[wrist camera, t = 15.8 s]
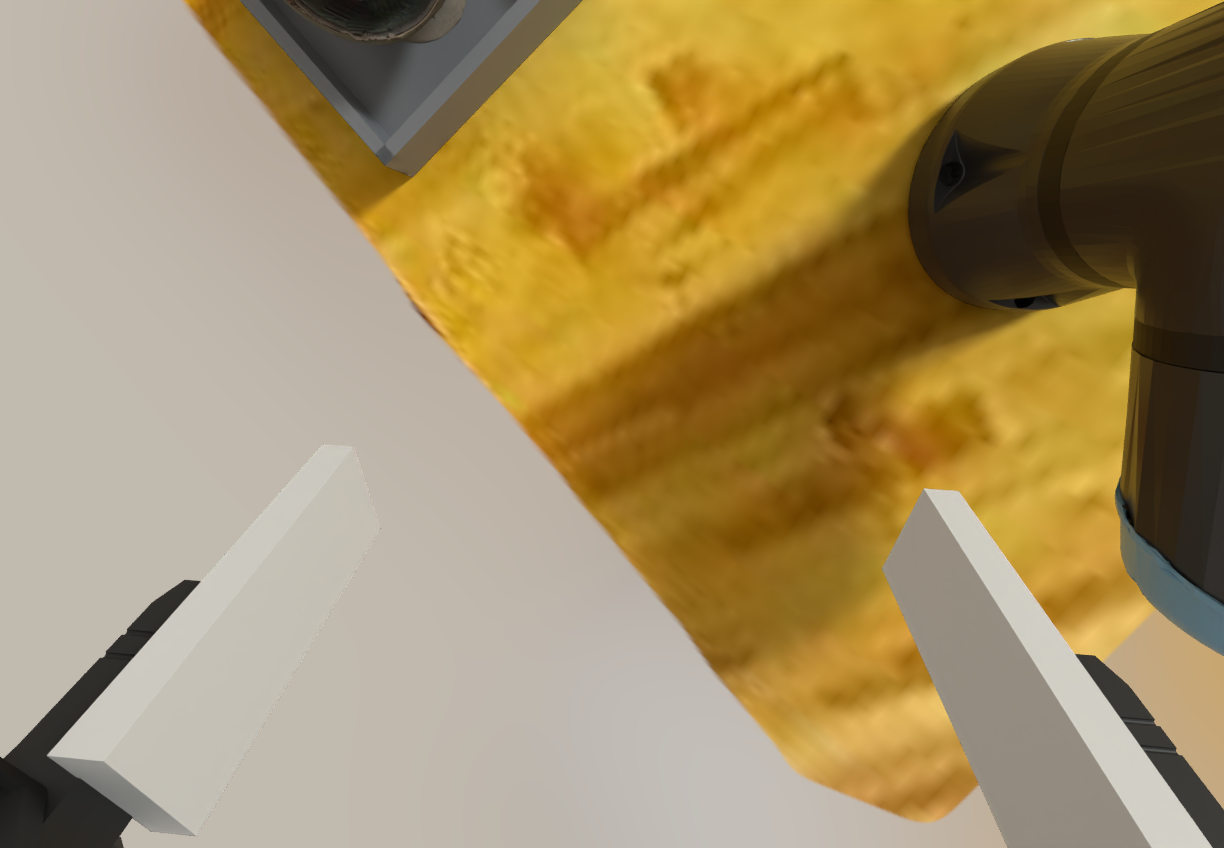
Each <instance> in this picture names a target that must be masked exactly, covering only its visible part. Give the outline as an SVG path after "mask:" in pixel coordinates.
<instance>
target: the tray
mask: <svg viewBox="0 0 1224 848" xmlns="http://www.w3.org/2000/svg"><path fill="white" fill-rule="evenodd" d="M240 1H241V2H242V3H243V4H244V6H245V7H246V8H247V9H248V10H249V11H250V12H251V14H252V15H253V16H254V17H255V18H256V19H257V20H258V22H259V23H260V24H261V25H262V26H263V27H264V28H265V30H266V31H267V32H268V33H269V34H270V35H271V36H272V38H273V39H274V40H275V41H276V42H277V43H278V44H279V45H280V47H281V48H282V49H283V50H284V51H285V52H286V53H287V55H288V56H289V57H290V58H291V59H292V60H293V61H294V63H295V64H296V65H297V66H298V67H299V68H300V69H301V71H302V72H303V73H304V74H305V75H306V76H307V77H308V78H309V80H310V81H311V82H312V83H313V84H314V85H315V86H316V88H317V89H318V90H319V91H320V92H321V93H322V94H323V96H324V97H325V98H326V99H327V100H328V101H329V102H330V104H331V105H332V106H333V107H334V108H335V109H336V110H337V112H338V113H339V114H340V115H341V116H342V117H343V118H344V119H345V121H346V122H347V123H348V124H349V125H350V126H351V127H352V129H353V130H354V131H355V132H356V133H357V134H358V135H359V137H360V138H361V139H362V140H363V141H364V142H365V143H366V145H367V146H368V147H369V148H370V149H371V150H372V151H373V152H374V154H375V155H376V156H377V157H378V158H379V159H380V160H381V162H382V163H383V164H384V165H385V166H387V167H389V168H391V169H394V170H396V171H399V172H401V173H403V174H406V175H408V176H410V177H413V176H414V175H415V174H416V173H417V172H418V171H419V170H420V169H421V168H422V167H423V166H424V165H425V164H426V163H427V162H428V161H429V160H430V159H431V158H432V156H433V155H434V154H435V153H436V152H437V151H438V150H439V149H440V148H441V147H442V146H443V145H444V144H445V143H446V142H447V141H448V140H449V139H450V138H451V137H452V136H453V135H454V134H455V133H456V131H457V130H458V129H459V128H460V127H461V126H462V125H463V124H464V123H465V122H466V121H467V120H468V119H469V118H470V117H471V116H472V115H473V114H474V113H475V112H476V111H477V110H478V109H479V107H480V106H481V105H482V104H483V103H484V102H485V101H486V100H487V99H488V98H489V97H490V96H491V95H492V94H493V93H494V92H495V91H496V90H497V89H498V88H499V87H500V86H501V85H502V84H503V82H504V81H505V80H506V79H507V78H508V77H509V76H510V75H511V74H512V73H513V72H514V71H515V70H516V69H517V68H518V67H519V66H520V65H521V64H522V63H523V62H524V61H525V60H526V58H527V57H528V56H529V55H530V54H531V53H532V52H533V51H534V50H535V49H536V48H537V47H538V46H539V45H540V44H541V43H542V42H543V41H544V40H545V39H546V38H547V37H548V36H549V35H550V33H551V32H552V31H553V30H554V29H555V28H556V27H557V26H558V25H559V24H560V23H561V22H562V21H563V20H564V19H565V18H566V17H567V16H568V15H569V14H570V13H571V12H572V11H573V9H574V8H575V7H576V6H577V5H578V4H579V3H580V2H581V1H582V0H466V4H465V8H464V11H463V15H462V17H461V19H460V21H459V22H458V23H457V25H456V26H455V27H454V28H453V29H452V30H451V31H449V32H448V33H447V34H446V35H444V36H443V37H441V38H440V39H438V40H435V41H431V42H426V43H413V42H405V41H400V42H396V43H392V44H386V45H372V44H361V43H356V42H352V41H348V40H345V39H342V38H339V37H337V36H334V35H332V34H330V33H328V32H326V31H324V30H323V29H321V28H319V27H317V26H316V25H314V24H312V23H311V22H309V21H308V20H306V19H305V18H303V17H302V16H300V15H299V14H298V13H297V12H295V11H294V10H293V9H292V8H291V7H289V6H288V5H287V4H286V3H285V2H284V1H283V0H240Z"/></svg>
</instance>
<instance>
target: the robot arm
mask: <svg viewBox="0 0 1224 848" xmlns="http://www.w3.org/2000/svg"><path fill="white" fill-rule="evenodd" d="M909 226H910V232H911V237H912V241H913V245H914V248H915V251H916V253H917V256H918V258H919V260H920V262H921V264H922V265H923V267H924V269H925V270H926V272H927V273H928V275H929V276H930V277H931V278H932V279H933V281H934V282H935V283H936V284H937V285H938V286H939V287H941V288H942V289H943V290H944V291H946V292H947V293H948V294H950V295H951V296H953V297H955V298H957V299H958V300H961V301H963V302H965V303H968V304H971V305H974V306H978V307H982V308H988V309H996V310H1005V311H1016V312H1028V311H1040V310H1048V309H1053V308H1057V307H1061V306H1065V305H1068V304H1072V303H1075V302H1078V301H1082V300H1085V299H1089V298H1092V297H1095V296H1099V295H1102V294H1106V293H1109V292H1112V291H1116V290H1119V289H1123V288H1137V289H1136V303H1135V320H1134V334H1133V342H1132V350H1131V364H1130V379H1129V393H1128V407H1127V419H1126V429H1125V440H1124V450H1123V461H1122V471H1121V477H1120V479H1119V482H1118V486H1117V488H1116V491H1115V504H1116V508H1117V512H1118V515H1119V517H1120V548H1121V555H1122V559H1123V563H1124V566H1125V568H1126V570H1127V573H1128V574H1129V576H1130V577H1131V578H1132V579H1133V580H1134V581H1135V582H1136V583H1137V585H1138V586H1139V588H1140V590H1141V592H1142V594H1143V595H1144V596H1145V597H1146V599H1147V600H1148V601H1149V602H1150V603H1151V604H1152V605H1153V606H1154V607H1155V608H1156V609H1157V610H1158V611H1159V612H1161V613H1162V614H1163V615H1164V616H1165V617H1166V618H1167V619H1168V620H1170V621H1171V622H1172V623H1173V624H1175V625H1176V626H1177V627H1179V628H1180V629H1181V630H1183V631H1184V632H1186V633H1187V634H1188V635H1190V636H1191V637H1193V638H1194V639H1196V640H1198V641H1199V642H1200V643H1202V644H1204V645H1205V646H1207V647H1209V648H1210V649H1212V650H1214V651H1215V652H1217V653H1219V654H1221V655H1223V656H1224V2H1222V3H1220V4H1217V5H1215V6H1213V7H1211V8H1208V9H1206V10H1204V11H1202V12H1199V13H1197V14H1195V15H1193V16H1190V17H1188V18H1186V19H1184V20H1181V21H1179V22H1177V23H1175V24H1172V25H1171V26H1168V27H1166V28H1164V29H1161V30H1159V31H1157V32H1154V33H1152V34H1138V35H1125V36H1113V37H1103V38H1083V39H1074V40H1068V41H1064V42H1060V43H1056V44H1052V45H1049V46H1046V47H1043V48H1040V49H1038V50H1035V51H1033V52H1030V53H1028V54H1026V55H1024V56H1022V57H1020V58H1018V59H1016V60H1014V61H1012V62H1010V63H1009V64H1007V65H1005V66H1003V67H1001V68H999V69H997V70H995V71H994V72H992V73H990V74H989V75H987V76H986V77H984V78H983V79H981V80H980V81H978V82H977V83H976V84H974V85H973V86H972V87H971V88H969V89H968V90H967V91H966V92H965V93H964V94H963V95H962V96H961V97H960V98H959V99H958V100H957V101H956V102H955V103H954V104H953V105H952V106H951V107H950V108H949V109H948V110H947V112H946V113H945V114H944V116H943V117H942V118H941V119H940V121H939V122H938V124H937V125H936V127H935V128H934V130H933V131H932V133H931V135H930V136H929V138H928V140H927V142H926V144H925V146H924V148H923V150H922V152H921V155H920V157H919V160H918V163H917V165H916V168H915V172H914V175H913V179H912V184H911V189H910V196H909ZM380 529H381V528H380V525H379V521H378V518H377V516H376V512H375V509H374V506H373V503H372V500H371V497H370V494H369V491H368V488H367V484H366V481H365V478H364V475H363V472H362V469H361V466H360V463H359V460H358V457H357V454H356V451H355V447H351V446H337V445H324V444H323V445H322V446H321V447H320V448H319V449H318V450H317V451H316V452H315V453H314V455H313V456H312V457H311V458H310V459H309V460H308V461H307V463H306V464H305V465H304V466H303V467H302V468H301V469H300V470H299V472H298V473H297V474H296V475H295V476H294V477H293V478H292V480H291V481H290V482H289V483H288V484H287V485H286V486H285V487H284V489H283V490H282V491H281V492H280V493H279V494H278V495H277V496H276V497H275V499H274V500H273V501H272V502H271V503H270V504H269V505H268V507H267V508H266V509H265V510H264V511H263V512H262V513H261V515H260V516H259V517H258V518H257V519H256V520H255V521H254V523H252V525H251V526H250V527H249V528H248V529H247V530H246V531H245V533H244V534H243V535H242V536H241V537H240V538H239V539H238V541H236V543H235V544H234V545H233V546H232V547H231V548H230V549H229V551H228V552H227V553H226V554H225V555H224V556H223V557H222V558H221V560H220V561H219V562H218V563H217V564H216V565H215V566H214V567H213V569H212V570H211V571H210V572H209V573H208V574H207V575H206V576H205V578H204V579H203V580H202V581H191V580H184V581H182V582H181V583H180V584H178V585H177V586H175V587H174V588H172V589H171V590H169V591H168V592H167V593H165V594H164V595H162V596H161V597H159V598H158V599H156V600H155V601H154V602H152V603H151V604H150V605H149V606H148V608H147V609H146V610H145V611H144V612H143V613H142V614H141V615H140V616H139V617H138V618H137V619H136V620H135V621H134V622H133V623H132V625H131V626H130V627H129V628H128V629H127V633H126V634H125V635H121V636H120V637H119V638H118V640H116V641H115V643H114V644H113V645H112V646H111V647H110V648H109V649H108V650H107V651H106V655H105V657H103V658H99V660H98V661H97V662H96V663H95V664H94V665H93V666H92V667H91V668H90V669H89V670H88V671H87V673H85V674H84V675H83V677H82V678H81V679H80V680H79V681H78V682H77V683H76V684H75V685H74V686H73V687H72V688H71V689H70V690H69V691H68V692H67V693H66V695H65V696H64V697H63V698H62V699H61V700H60V701H59V702H58V703H57V704H56V705H55V706H54V707H53V708H52V709H51V710H50V711H49V713H48V714H47V715H46V716H45V717H44V718H43V719H42V720H41V721H40V722H39V723H38V724H37V725H36V727H34V729H33V730H32V731H31V732H30V733H29V734H28V735H27V736H26V737H25V738H24V739H23V740H22V741H21V742H20V743H19V744H18V745H17V747H15V748H14V749H13V750H12V751H11V752H10V753H9V754H8V755H7V756H6V757H5V758H4V759H3V758H1V757H0V848H123V844H122V840H121V837H119V836H120V835H121V833H122V832H123V830H124V829H125V827H126V826H127V825H128V823H129V822H130V820H131V819H132V818H133V819H134V820H136V821H137V822H138V823H140V824H141V825H143V826H144V827H145V828H147V829H148V830H149V831H151V832H160V833H170V834H179V835H189V836H197V835H198V834H199V832H200V830H201V829H202V827H203V825H204V823H205V822H206V820H207V818H208V817H209V815H210V813H211V812H212V810H213V808H214V807H215V805H216V803H217V802H218V800H219V798H220V797H221V795H222V793H223V791H224V790H225V788H226V787H227V785H228V783H229V782H230V780H231V778H232V777H233V775H234V773H235V772H236V770H237V768H238V767H239V765H240V763H241V762H242V760H243V758H244V757H245V755H246V753H247V751H248V750H249V748H250V747H251V745H252V743H253V741H254V740H255V738H256V737H257V735H258V733H259V732H260V730H261V728H262V726H263V725H264V723H265V721H266V720H267V718H268V716H269V715H270V713H271V711H272V710H273V708H274V706H275V705H276V703H277V701H278V700H279V698H280V696H281V695H282V693H283V691H284V690H285V688H286V686H287V685H288V683H289V681H290V680H291V677H292V676H293V675H294V673H295V671H296V670H297V668H298V666H299V665H300V663H301V661H302V660H303V658H304V656H305V654H306V653H307V651H308V649H309V648H310V646H311V645H312V643H313V641H314V640H315V638H316V636H317V635H318V633H319V631H320V629H321V628H322V626H323V624H324V623H325V621H326V619H327V618H328V616H329V614H330V613H331V611H332V609H333V608H334V606H335V604H336V603H337V601H338V599H339V598H340V596H341V594H342V593H343V591H344V589H345V588H346V586H347V584H348V583H349V581H350V579H351V577H352V576H353V574H354V573H355V571H356V569H357V568H358V566H359V564H360V562H361V561H362V559H363V557H364V556H365V554H366V552H367V551H368V549H369V547H370V546H371V544H372V543H373V541H374V539H375V538H376V536H377V534H378V533H379V531H380ZM882 570H883V572H884V574H885V576H886V578H887V581H888V583H889V585H890V587H891V590H892V592H893V594H894V596H895V598H896V601H897V603H898V605H899V607H900V610H901V612H902V614H903V616H904V619H905V621H906V623H907V625H908V627H909V630H910V632H911V634H912V636H913V639H914V641H915V643H916V645H917V647H918V650H919V652H920V654H921V656H922V659H923V661H924V663H925V665H926V667H927V670H928V672H929V674H930V676H931V679H932V681H933V683H934V685H935V687H936V690H937V692H938V694H939V696H940V699H941V701H942V703H943V705H944V707H945V710H946V712H947V714H948V716H949V719H950V721H951V723H952V725H953V727H954V730H955V732H956V734H957V736H958V739H959V741H960V743H961V745H962V747H963V750H964V752H965V754H966V756H967V759H968V761H969V763H970V765H971V767H972V770H973V772H974V774H975V776H976V779H977V781H978V783H979V785H980V787H981V789H982V792H983V794H984V796H985V798H986V801H987V803H988V805H989V807H990V809H991V812H992V814H993V816H994V819H995V821H996V823H997V825H998V827H999V830H1000V832H1001V834H1002V836H1003V839H1004V841H1005V843H1006V845H1007V847H1008V848H1224V810H1223V808H1222V807H1221V806H1220V804H1219V803H1218V802H1217V801H1216V799H1215V798H1214V797H1213V795H1212V794H1211V793H1210V791H1209V790H1208V789H1207V787H1206V786H1205V785H1204V783H1203V782H1202V781H1201V780H1200V778H1199V777H1198V776H1197V774H1196V773H1195V772H1194V770H1193V769H1192V768H1191V767H1190V765H1189V764H1188V763H1187V761H1186V760H1185V759H1184V757H1183V756H1181V755H1178V754H1177V752H1176V747H1175V746H1174V744H1173V743H1172V742H1171V740H1170V739H1169V738H1168V736H1167V735H1166V734H1165V732H1164V731H1163V730H1162V728H1161V727H1160V726H1156V725H1155V723H1154V720H1155V719H1154V718H1153V717H1152V716H1151V714H1150V713H1149V711H1148V710H1147V709H1146V708H1145V706H1144V705H1143V704H1142V702H1141V701H1140V700H1139V698H1138V697H1137V696H1136V694H1135V693H1134V692H1133V690H1132V689H1131V688H1130V687H1129V686H1128V685H1127V684H1126V683H1125V682H1124V681H1123V680H1122V679H1121V678H1119V677H1118V676H1117V675H1116V674H1115V673H1114V672H1113V671H1112V670H1110V669H1109V668H1108V667H1107V666H1106V665H1105V664H1104V663H1102V662H1101V661H1100V660H1099V659H1098V658H1097V657H1096V656H1092V655H1080V654H1074V652H1073V651H1072V650H1071V648H1070V647H1069V645H1068V644H1067V643H1066V641H1065V640H1064V638H1063V637H1062V636H1061V634H1060V633H1059V631H1058V630H1057V629H1056V627H1055V626H1054V624H1053V623H1052V622H1051V620H1050V619H1049V617H1048V616H1047V615H1046V613H1045V612H1044V610H1043V609H1042V608H1041V606H1040V605H1039V603H1038V602H1037V601H1036V599H1035V598H1034V596H1033V595H1032V594H1031V592H1030V591H1029V589H1028V588H1027V587H1026V585H1025V584H1024V582H1023V581H1022V579H1021V578H1020V577H1019V575H1018V574H1017V572H1016V571H1015V570H1014V568H1013V567H1012V565H1011V564H1010V563H1009V561H1008V560H1007V558H1006V557H1005V556H1004V554H1003V553H1002V551H1001V550H1000V549H999V547H998V546H997V544H996V543H995V542H994V540H993V539H992V537H991V536H990V535H989V533H988V532H987V530H986V529H985V528H984V526H983V525H982V523H981V522H980V521H979V519H978V518H977V516H976V515H975V514H974V512H973V511H972V509H971V508H970V507H969V505H968V504H967V502H966V501H965V499H964V498H963V497H962V495H961V494H960V492H959V491H949V490H936V489H923V491H922V493H921V495H920V497H919V499H918V501H917V503H916V504H915V506H914V508H913V510H912V512H911V514H910V516H909V518H908V520H907V522H906V524H905V526H904V527H903V529H902V531H901V533H900V535H899V537H898V539H897V541H896V543H895V545H894V547H893V548H892V550H891V552H890V554H889V556H888V558H887V560H886V562H885V564H884V566H883V568H882Z"/></svg>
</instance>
